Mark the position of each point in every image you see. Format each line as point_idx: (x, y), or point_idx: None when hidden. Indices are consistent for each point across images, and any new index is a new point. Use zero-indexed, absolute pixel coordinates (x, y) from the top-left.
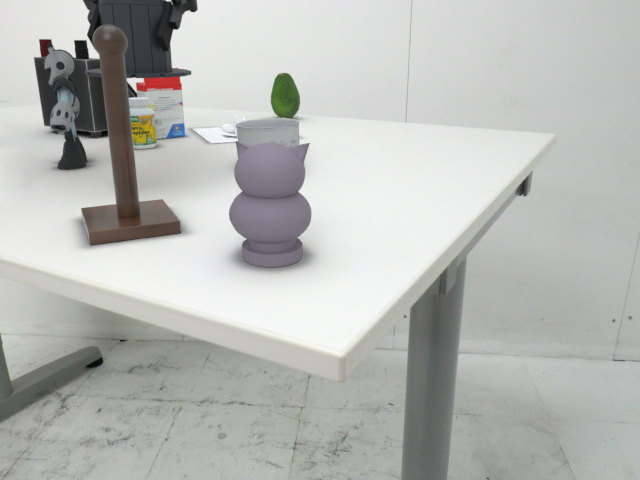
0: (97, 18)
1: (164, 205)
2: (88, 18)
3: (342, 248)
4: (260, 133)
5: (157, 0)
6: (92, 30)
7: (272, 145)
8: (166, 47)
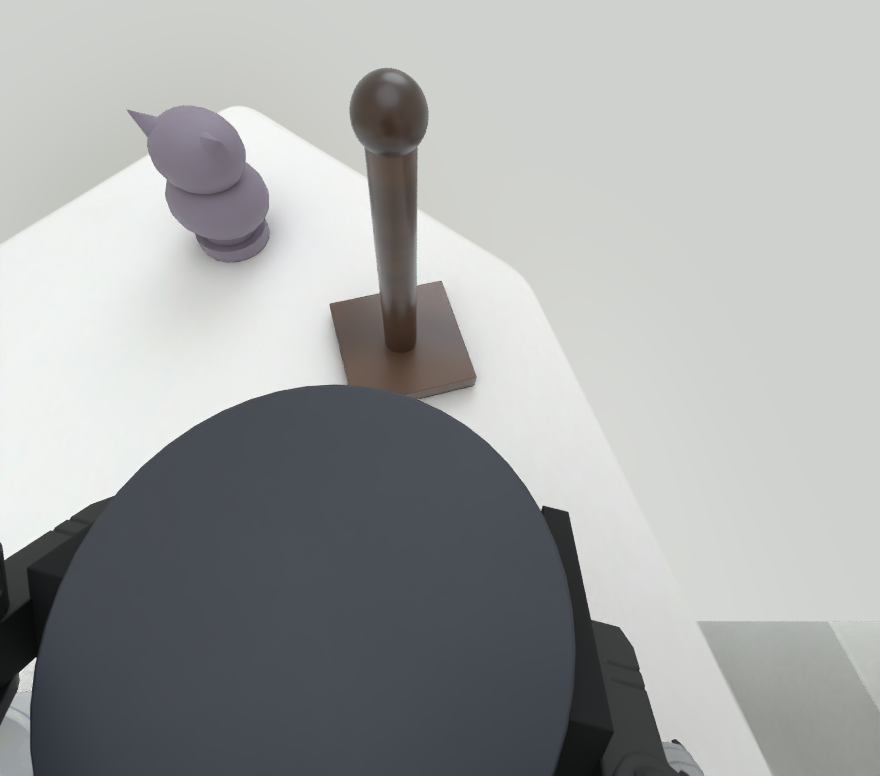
0: None
1: (350, 371)
2: (620, 637)
3: (147, 243)
4: (18, 706)
5: (150, 465)
6: (551, 525)
7: (181, 109)
8: None
